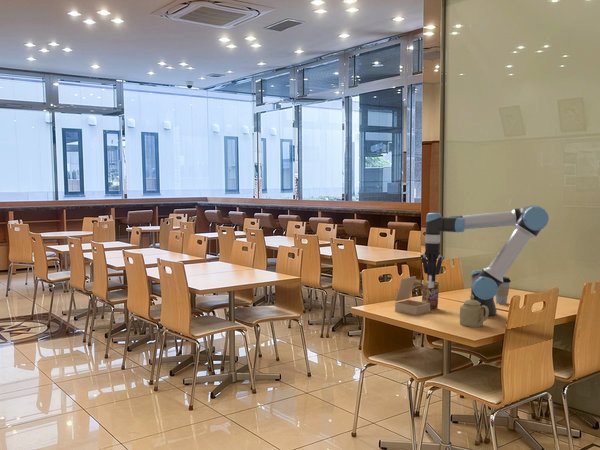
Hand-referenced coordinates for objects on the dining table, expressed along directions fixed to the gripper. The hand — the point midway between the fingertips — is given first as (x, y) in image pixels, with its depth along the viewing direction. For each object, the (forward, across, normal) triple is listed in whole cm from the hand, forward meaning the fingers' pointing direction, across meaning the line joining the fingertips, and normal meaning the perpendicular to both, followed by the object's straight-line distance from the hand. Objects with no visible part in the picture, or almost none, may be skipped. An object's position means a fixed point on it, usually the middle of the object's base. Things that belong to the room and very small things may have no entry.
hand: (431, 287), depth 296 cm
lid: (+3, +16, 0) cm, 16 cm away
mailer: (+14, +11, 0) cm, 18 cm away
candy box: (+15, +9, -14) cm, 22 cm away
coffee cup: (+15, -10, -61) cm, 64 cm away
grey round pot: (+15, -27, +3) cm, 31 cm away
